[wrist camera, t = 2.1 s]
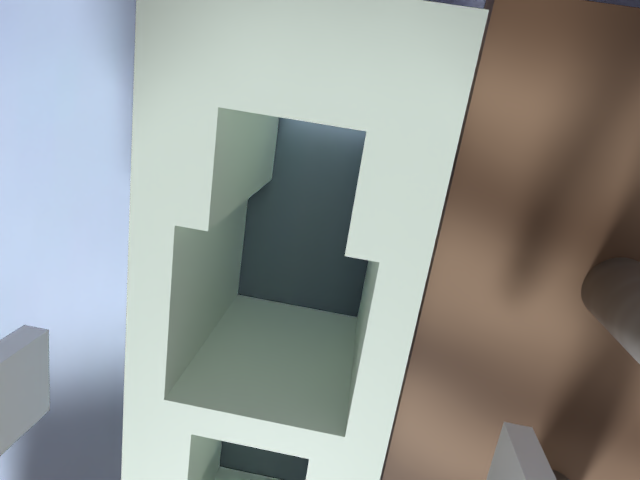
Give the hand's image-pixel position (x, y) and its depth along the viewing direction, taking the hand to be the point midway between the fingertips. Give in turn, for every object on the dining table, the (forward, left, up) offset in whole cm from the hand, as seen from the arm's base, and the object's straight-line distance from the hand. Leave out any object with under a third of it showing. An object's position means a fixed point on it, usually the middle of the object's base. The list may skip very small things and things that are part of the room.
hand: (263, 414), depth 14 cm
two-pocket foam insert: (0, 0, -6) cm, 6 cm away
